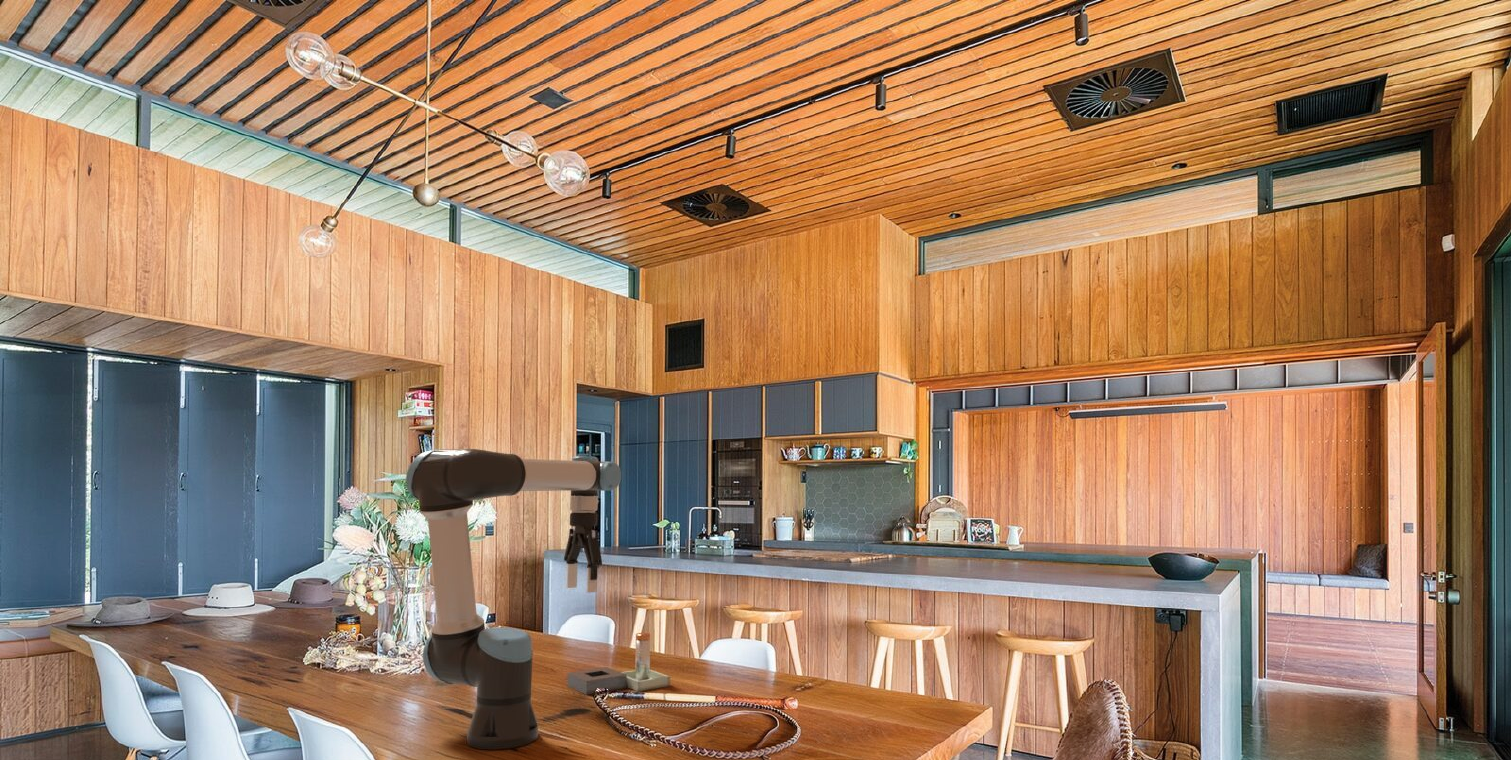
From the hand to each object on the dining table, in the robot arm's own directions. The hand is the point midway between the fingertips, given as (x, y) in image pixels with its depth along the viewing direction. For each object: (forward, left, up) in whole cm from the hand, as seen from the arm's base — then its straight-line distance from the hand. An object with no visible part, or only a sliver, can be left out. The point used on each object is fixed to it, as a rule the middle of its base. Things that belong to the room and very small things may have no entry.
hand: (581, 589), depth 233 cm
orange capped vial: (+17, -5, -26) cm, 31 cm away
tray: (+17, -5, -27) cm, 32 cm away
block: (+5, 0, -27) cm, 27 cm away
